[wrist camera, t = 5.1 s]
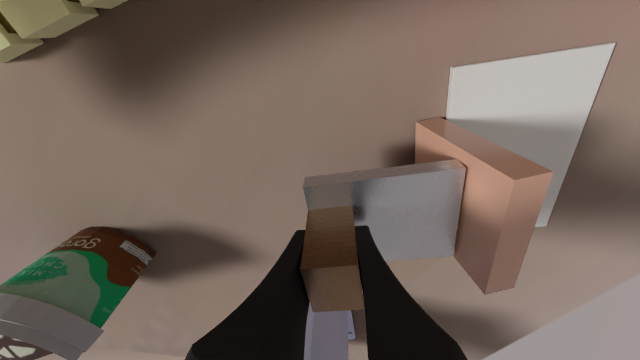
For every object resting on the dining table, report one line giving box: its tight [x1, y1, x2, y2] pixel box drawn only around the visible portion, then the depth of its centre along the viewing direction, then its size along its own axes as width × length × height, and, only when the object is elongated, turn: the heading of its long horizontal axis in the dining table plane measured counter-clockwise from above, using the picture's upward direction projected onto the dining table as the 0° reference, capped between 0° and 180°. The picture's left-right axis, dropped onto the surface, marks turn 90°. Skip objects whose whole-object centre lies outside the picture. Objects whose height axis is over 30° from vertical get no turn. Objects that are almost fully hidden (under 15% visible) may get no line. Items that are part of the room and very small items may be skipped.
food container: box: [0, 227, 156, 360], centre depth 21 cm, size 12×6×10 cm, turn 112°
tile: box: [415, 117, 554, 294], centre depth 15 cm, size 7×2×8 cm, turn 9°
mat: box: [446, 43, 615, 227], centre depth 18 cm, size 13×8×1 cm, turn 9°
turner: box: [300, 159, 466, 312], centre depth 13 cm, size 8×6×5 cm
